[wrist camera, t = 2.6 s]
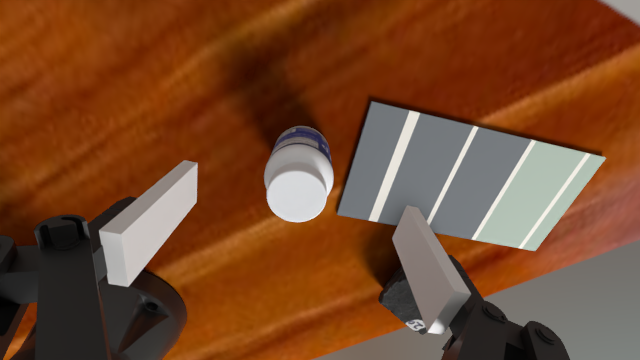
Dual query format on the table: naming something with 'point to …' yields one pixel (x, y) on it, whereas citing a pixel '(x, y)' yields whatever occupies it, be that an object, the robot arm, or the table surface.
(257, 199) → the table surface
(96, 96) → the table surface
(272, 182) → the pill bottle
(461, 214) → the lane
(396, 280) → the rock
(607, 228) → the table surface
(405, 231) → the robot arm
